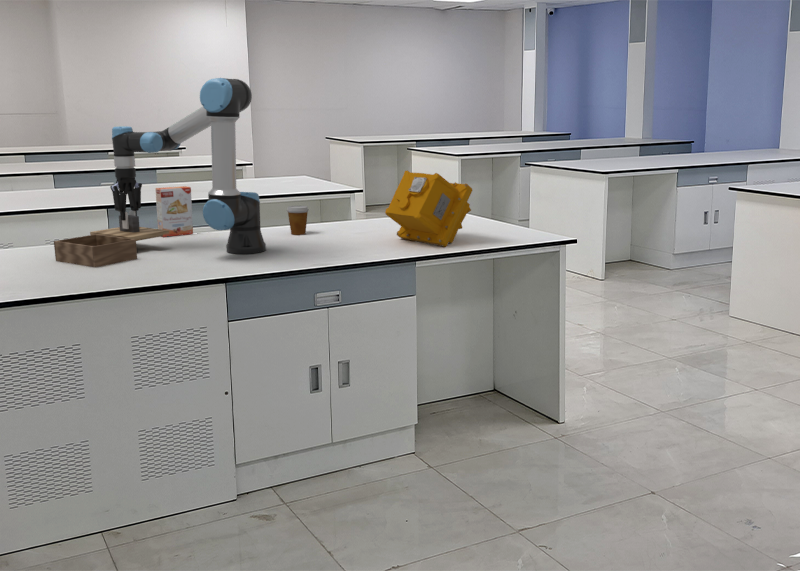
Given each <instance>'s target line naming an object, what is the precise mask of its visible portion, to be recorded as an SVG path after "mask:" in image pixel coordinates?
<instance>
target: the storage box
mask: <svg viewBox="0 0 800 571" xmlns="http://www.w3.org/2000/svg"><path fill="white" fill-rule="evenodd" d="M53 248H54V257H55V262H59V263H66V264H73V265H76V266H83V267H89V268H99V267H106V266H109V265H114V264H115V265H116V264H119V263H123V262H124V263H125V262H128V261H129V262H130V261H134V260H138V251H137V250H138V249H137V241H136V239H129V238H122V237H114V236H106V235H99V234H94V235H82V236H76V237H71V238H66V239H60V240H53Z"/></svg>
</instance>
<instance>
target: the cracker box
mask: <svg viewBox="0 0 800 571" xmlns="http://www.w3.org/2000/svg"><path fill="white" fill-rule="evenodd" d="M155 203H156V204H155V205H156V215H157V216H156V218H157V229H161V230H169V234H164V235H163V236H162V238H168V237H167V236H169V237H177V236H178V237H179V236H185V235H193V234H194V223H193V204H192V203H193V202H192V187H190V186H188V185H187V186H186V185H184V186H166V187H155Z"/></svg>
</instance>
